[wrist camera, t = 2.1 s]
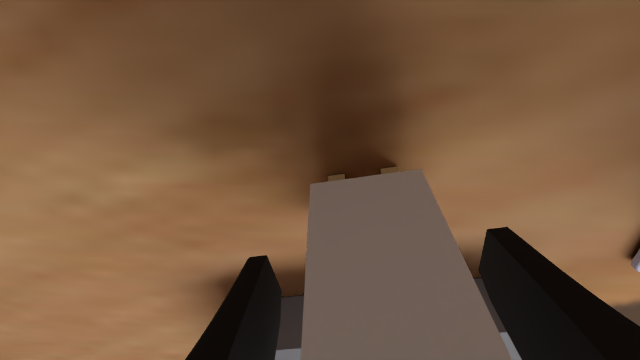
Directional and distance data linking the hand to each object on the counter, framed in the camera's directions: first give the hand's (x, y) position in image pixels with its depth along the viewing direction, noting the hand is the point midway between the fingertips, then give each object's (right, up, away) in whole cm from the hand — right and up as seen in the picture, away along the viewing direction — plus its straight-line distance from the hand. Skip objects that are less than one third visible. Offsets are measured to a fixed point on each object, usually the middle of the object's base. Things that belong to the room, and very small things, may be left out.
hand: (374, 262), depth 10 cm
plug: (0, +2, +3) cm, 4 cm away
